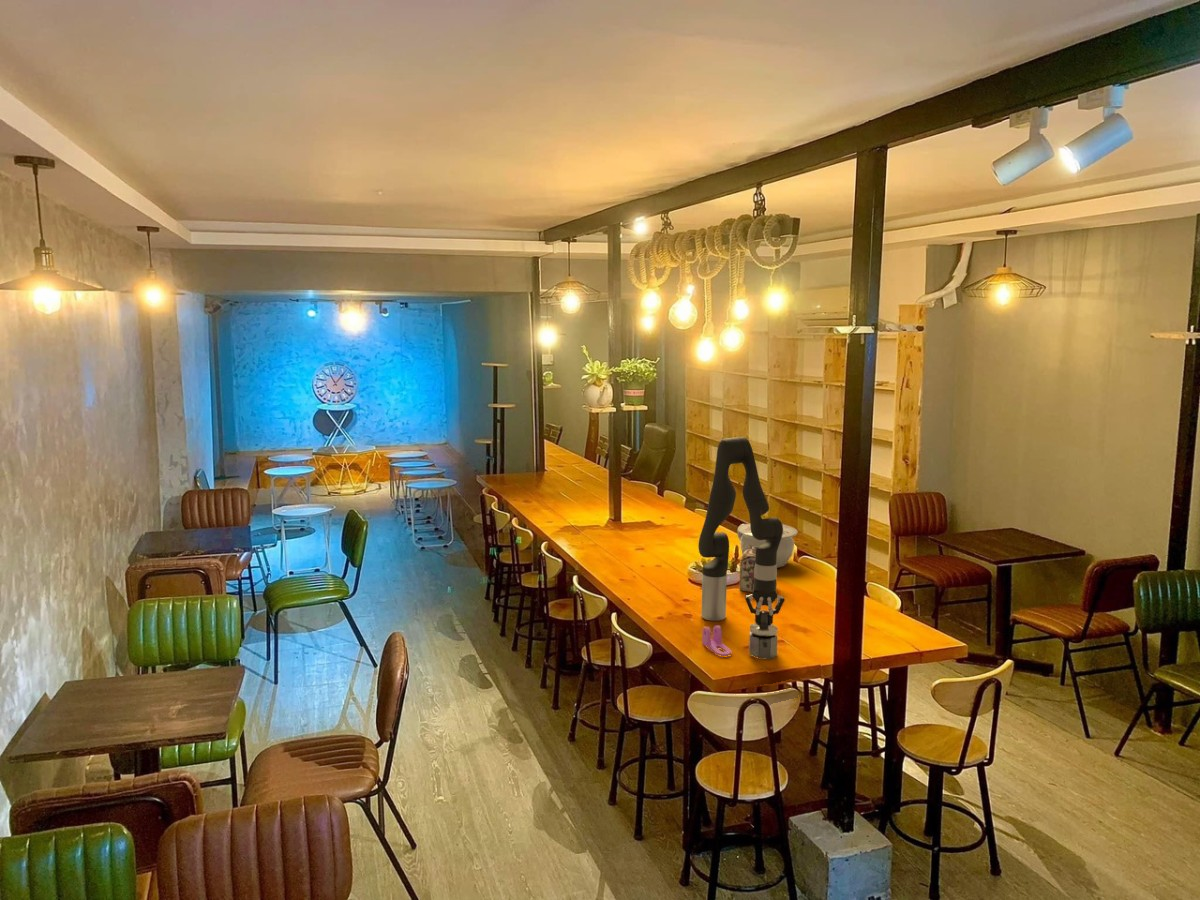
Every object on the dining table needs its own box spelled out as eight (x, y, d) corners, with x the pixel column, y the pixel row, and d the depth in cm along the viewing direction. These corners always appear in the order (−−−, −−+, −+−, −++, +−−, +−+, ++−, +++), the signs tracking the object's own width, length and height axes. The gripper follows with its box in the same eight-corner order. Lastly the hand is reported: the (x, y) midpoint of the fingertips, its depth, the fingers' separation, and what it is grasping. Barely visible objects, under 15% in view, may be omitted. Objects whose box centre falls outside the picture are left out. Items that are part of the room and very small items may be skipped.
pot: (747, 646, 291) (748, 627, 290) (773, 647, 291) (774, 627, 289) (751, 661, 279) (751, 641, 278) (778, 662, 278) (779, 642, 277)
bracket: (702, 644, 293) (702, 625, 292) (716, 642, 295) (716, 623, 294) (720, 658, 281) (720, 639, 280) (734, 656, 283) (735, 637, 282)
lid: (748, 625, 288) (749, 607, 287) (775, 626, 287) (775, 607, 286) (751, 635, 279) (752, 616, 278) (779, 636, 278) (780, 617, 277)
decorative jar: (738, 590, 350) (739, 549, 347) (747, 582, 360) (748, 542, 357) (766, 595, 344) (767, 553, 341) (774, 586, 354) (775, 546, 351)
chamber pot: (802, 574, 372) (804, 529, 368) (741, 573, 372) (742, 528, 369) (789, 555, 399) (791, 514, 396) (732, 555, 400) (733, 513, 397)
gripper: (785, 573, 283) (783, 621, 286) (743, 572, 284) (741, 620, 287) (788, 580, 276) (786, 629, 279) (745, 579, 277) (743, 628, 280)
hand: (763, 624), depth 283 cm, fingers closed on lid, 3 cm apart
